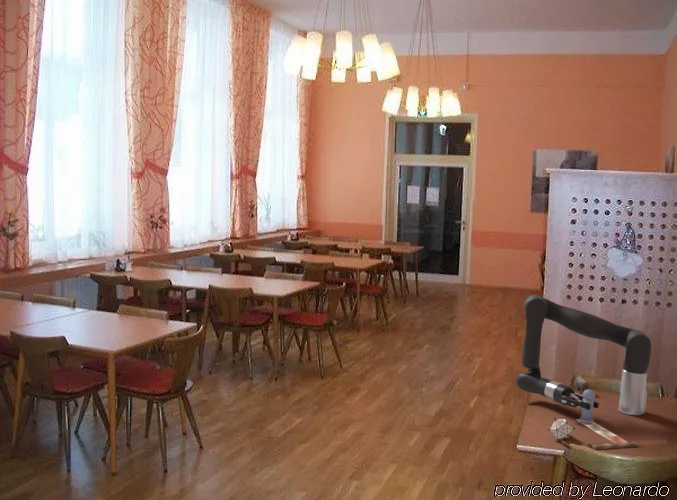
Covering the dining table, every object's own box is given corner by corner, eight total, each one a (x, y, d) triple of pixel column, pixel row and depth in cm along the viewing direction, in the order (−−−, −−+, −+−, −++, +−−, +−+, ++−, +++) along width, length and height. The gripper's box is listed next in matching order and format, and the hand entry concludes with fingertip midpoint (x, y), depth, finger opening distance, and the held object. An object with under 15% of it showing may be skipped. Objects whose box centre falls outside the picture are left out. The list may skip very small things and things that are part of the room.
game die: (564, 451, 260) (577, 436, 253) (542, 440, 261) (554, 425, 254) (568, 432, 267) (580, 417, 260) (546, 422, 268) (558, 406, 261)
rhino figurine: (578, 385, 327) (579, 372, 326) (590, 395, 314) (591, 382, 313) (569, 385, 327) (571, 372, 326) (581, 395, 313) (582, 382, 313)
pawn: (587, 419, 281) (591, 387, 279) (595, 423, 276) (599, 391, 274) (576, 419, 279) (579, 387, 278) (584, 424, 275) (587, 391, 273)
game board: (593, 419, 283) (593, 417, 283) (637, 446, 259) (637, 443, 258) (552, 422, 278) (553, 419, 278) (594, 449, 253) (594, 446, 253)
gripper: (547, 385, 285) (582, 399, 270) (572, 381, 292) (607, 394, 278) (545, 404, 286) (580, 418, 271) (570, 399, 293) (605, 413, 278)
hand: (593, 406), depth 274 cm, fingers closed on pawn, 4 cm apart
